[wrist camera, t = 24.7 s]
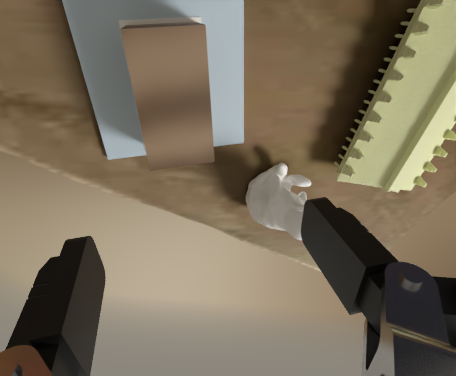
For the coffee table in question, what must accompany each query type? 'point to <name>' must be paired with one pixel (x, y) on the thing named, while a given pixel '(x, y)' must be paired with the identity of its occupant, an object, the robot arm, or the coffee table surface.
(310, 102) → the coffee table surface
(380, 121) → the spiky scrub brush
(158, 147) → the walnut pedestal
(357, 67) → the coffee table surface
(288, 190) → the white rounded figure
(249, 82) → the coffee table surface
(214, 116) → the board
